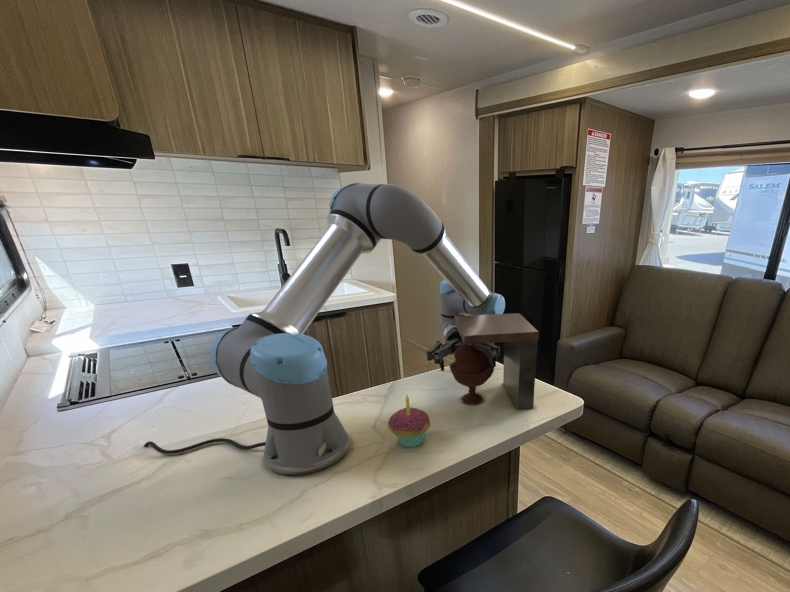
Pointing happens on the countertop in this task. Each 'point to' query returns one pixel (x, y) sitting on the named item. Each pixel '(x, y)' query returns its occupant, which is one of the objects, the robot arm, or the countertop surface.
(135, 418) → the countertop surface
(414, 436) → the cupcake
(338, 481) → the countertop surface
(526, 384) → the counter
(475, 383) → the ice cream bowl
